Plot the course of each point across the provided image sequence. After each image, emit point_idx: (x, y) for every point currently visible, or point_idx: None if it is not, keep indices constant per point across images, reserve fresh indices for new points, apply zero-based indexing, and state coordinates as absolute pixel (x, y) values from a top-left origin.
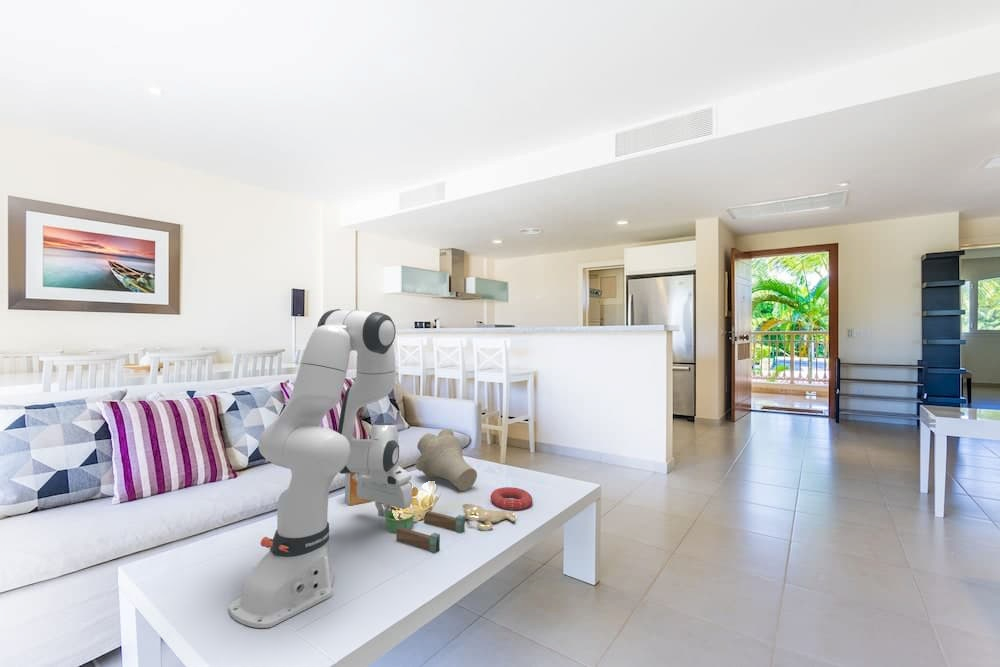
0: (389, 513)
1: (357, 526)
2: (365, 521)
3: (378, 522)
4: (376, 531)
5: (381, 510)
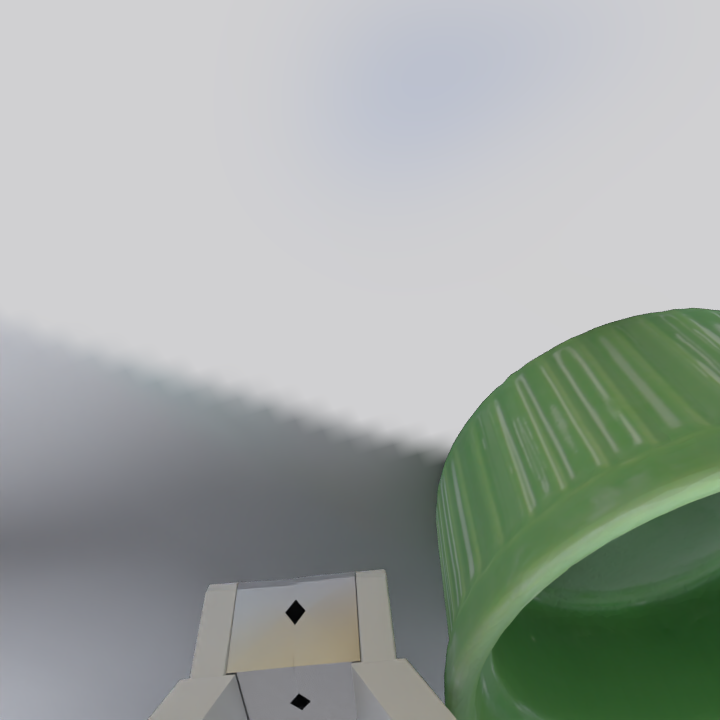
0: (480, 677)
1: (126, 698)
2: (64, 601)
3: (241, 537)
4: (422, 664)
5: (265, 714)
